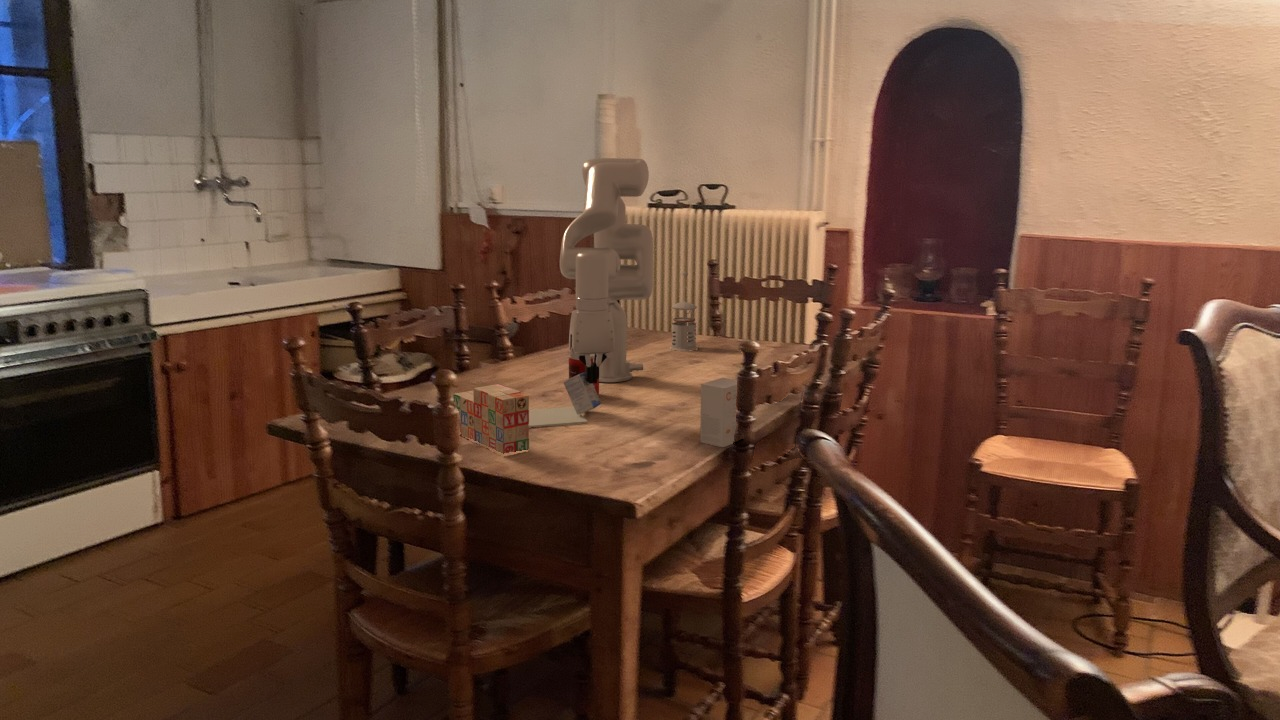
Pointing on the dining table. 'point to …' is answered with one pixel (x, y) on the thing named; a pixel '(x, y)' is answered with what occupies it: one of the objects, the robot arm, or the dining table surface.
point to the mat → (555, 417)
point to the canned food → (580, 370)
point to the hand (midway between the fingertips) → (592, 382)
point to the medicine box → (581, 393)
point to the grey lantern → (684, 327)
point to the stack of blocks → (495, 417)
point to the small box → (718, 412)
